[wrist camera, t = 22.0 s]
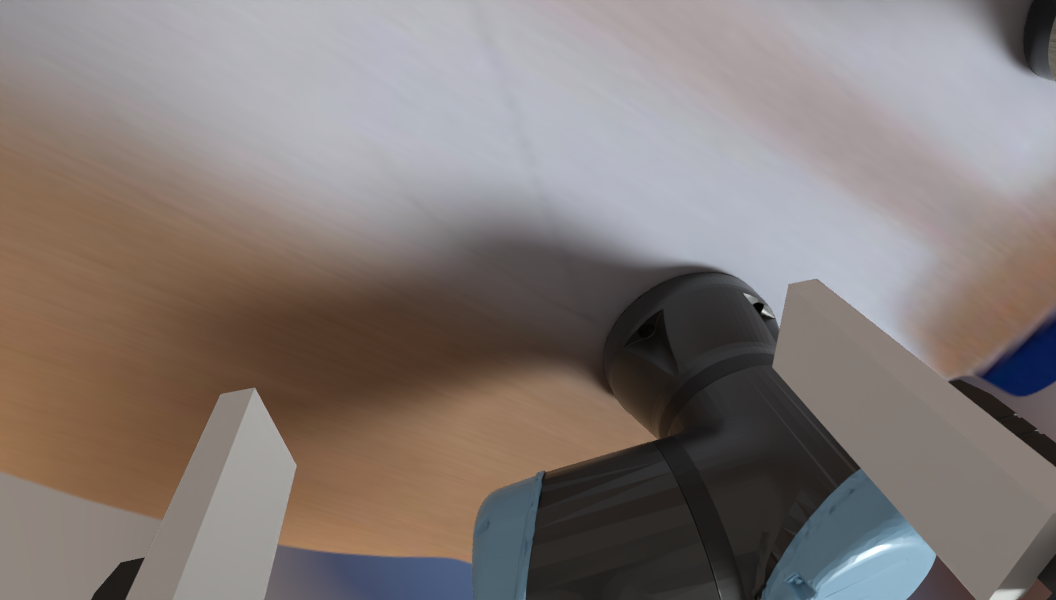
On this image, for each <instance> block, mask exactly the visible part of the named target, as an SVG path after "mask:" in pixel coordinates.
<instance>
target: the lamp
mask: <svg viewBox="0 0 1056 600" xmlns="http://www.w3.org/2000/svg"><path fill="white" fill-rule="evenodd" d="M1024 50H1025V55H1026V59H1027V62H1028V64H1029V66H1030V67H1031V69H1032V70H1033V71H1034V72H1035V73H1036V74H1037V75H1039V76H1040V77H1042V78H1044V79H1047V80H1051V81H1055V82H1056V0H1034V1H1033V3H1032V6H1031V9H1030V12H1029V15H1028V18H1027V23H1026V27H1025V35H1024Z"/></svg>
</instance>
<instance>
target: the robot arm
mask: <svg viewBox="0 0 1056 600" xmlns="http://www.w3.org/2000/svg"><path fill="white" fill-rule="evenodd" d="M603 364H604V371H605V375H606V378H607V380H608V382H609V385H610V387H611V389H612V391H613V393H614V395H615V397H616V399H617V400H618V402H619V403H620V404H621V406H622V407H623V408H624V409H625V410H626V411H627V412H628V413H630V414H631V415H632V416H633V417H634V418H635V419H636V420H637V421H638V422H639V423H640V424H642V425H643V426H644V427H645V428H646V429H647V430H648V431H649V432H650V433H652V434H653V435H654V436H655V437H656V438H657V439H658V440H655V441H652V442H647V443H644V444H640V445H637V446H634V447H630V448H627V449H623V450H620V451H617V452H613V453H610V454H606V455H603V456H600V457H596V458H593V459H589V460H586V461H583V462H579V463H576V464H572V465H569V466H566V467H562V468H559V469H555V470H552V471H549V472H545V471H541V472H538V473H537V474H536V476H534V477H531V478H528V479H525V480H522V481H520V482H517V483H514V484H511V485H508V486H505V487H503V488H500V489H497V490H495V491H494V492H492V493H491V494H490V495H488V497H487V498H486V499H485V500H484V501H483V503H482V505H481V506H480V509H479V511H478V514H477V517H476V521H475V527H474V534H473V549H472V584H473V600H906V599H907V598H908V597H909V596H910V595H911V594H912V593H913V592H914V591H915V589H916V588H917V587H918V586H919V585H920V583H921V582H922V580H923V579H924V578H925V577H926V575H927V574H928V572H929V570H930V569H931V567H932V565H933V562H934V560H935V557H936V554H937V555H938V557H939V558H940V559H941V560H942V561H943V562H944V563H945V564H946V566H947V567H948V568H949V569H950V570H951V571H952V573H953V574H954V575H955V576H956V577H957V578H958V579H959V581H961V583H962V584H963V585H964V586H965V587H966V588H967V590H968V591H969V592H970V593H971V594H972V595H973V596H974V598H975V599H976V600H1015V599H1018V598H1022V597H1023V596H1024V595H1025V594H1026V593H1027V591H1028V590H1029V589H1030V587H1031V586H1032V585H1033V584H1034V583H1035V581H1036V580H1037V579H1039V580H1040V581H1041V582H1042V583H1043V584H1044V585H1045V586H1046V587H1047V588H1048V589H1049V590H1050V591H1051V592H1052V595H1051V596H1050V597H1049V598H1048V599H1047V600H1056V443H1055V442H1054V441H1053V440H1051V439H1050V438H1049V437H1047V436H1046V435H1045V434H1040V433H1039V432H1038V429H1037V428H1035V427H1034V426H1033V425H1031V424H1030V423H1028V422H1027V421H1026V420H1024V419H1023V418H1018V417H1017V414H1016V413H1015V412H1014V411H1013V410H1011V409H1010V408H1009V407H1007V406H1006V405H1005V404H1003V403H1002V402H1001V401H999V400H998V399H997V398H995V397H994V396H993V395H991V394H989V393H987V392H985V391H983V390H981V389H979V388H977V387H975V386H973V385H970V384H968V383H966V382H964V381H962V380H955V381H951V382H947V381H946V380H945V379H943V378H942V377H941V376H940V375H938V374H937V373H936V372H934V371H933V370H932V369H931V368H929V367H928V366H927V365H926V364H924V363H923V362H922V361H921V360H919V359H918V358H917V357H915V356H914V355H913V354H912V353H910V352H909V351H908V350H907V349H905V348H904V347H903V346H902V345H900V344H899V343H898V342H896V341H895V340H894V339H893V338H891V337H890V336H889V335H888V334H886V333H885V332H884V331H883V330H881V329H880V328H879V327H877V326H876V325H875V324H874V323H872V322H871V321H870V320H869V319H867V318H866V317H865V316H864V315H862V314H861V313H860V312H858V311H857V310H856V309H855V308H853V307H852V306H851V305H850V304H848V303H847V302H846V301H845V300H843V299H842V298H841V297H839V296H838V295H837V294H836V293H834V292H833V291H832V290H831V289H829V288H828V287H827V286H825V285H824V284H823V283H822V282H820V281H819V280H818V279H813V280H808V281H803V282H798V283H793V284H789V285H788V290H787V295H786V300H785V305H784V310H783V315H782V320H781V325H780V329H779V326H778V324H777V321H776V318H775V316H774V314H773V312H772V310H771V309H770V307H769V306H768V304H767V303H766V302H765V301H764V300H763V299H762V298H761V297H760V296H759V295H758V294H757V293H756V292H755V291H754V290H753V289H752V288H751V287H750V286H749V285H747V284H746V283H745V282H743V281H741V280H739V279H737V278H735V277H732V276H729V275H725V274H720V273H695V274H689V275H685V276H681V277H678V278H675V279H672V280H669V281H667V282H665V283H662V284H660V285H658V286H656V287H655V288H653V289H651V290H650V291H648V292H647V293H645V294H644V295H642V296H641V297H640V298H638V299H637V300H636V301H635V302H634V303H633V304H632V305H630V306H629V307H628V308H627V310H626V311H625V312H624V313H623V314H622V315H621V317H620V318H619V319H618V321H617V322H616V324H615V325H614V327H613V329H612V330H611V332H610V335H609V337H608V339H607V342H606V346H605V350H604V357H603ZM296 467H297V465H296V463H295V462H294V460H293V458H292V456H291V454H290V452H289V450H288V448H287V447H286V445H285V443H284V441H283V439H282V437H281V435H280V434H279V432H278V430H277V428H276V426H275V424H274V422H273V420H272V419H271V417H270V415H269V413H268V411H267V409H266V407H265V406H264V404H263V402H262V400H261V398H260V396H259V394H258V392H257V391H256V389H255V388H249V389H244V390H239V391H234V392H229V393H224V394H220V396H219V399H218V401H217V403H216V405H215V407H214V409H213V412H212V414H211V416H210V418H209V420H208V422H207V425H206V427H205V429H204V431H203V433H202V435H201V437H200V440H199V442H198V444H197V446H196V448H195V450H194V453H193V455H192V457H191V459H190V461H189V463H188V466H187V468H186V470H185V472H184V474H183V476H182V479H181V481H180V483H179V485H178V487H177V489H176V492H175V494H174V496H173V498H172V500H171V502H170V505H169V507H168V509H167V511H166V513H165V515H164V517H163V520H162V522H161V524H160V526H159V528H158V530H157V533H156V535H155V537H154V539H153V541H152V543H151V546H150V548H149V550H148V552H147V554H146V557H145V558H140V559H135V560H131V561H126V562H121V563H120V564H119V565H118V567H117V568H116V569H115V570H114V571H113V572H112V574H111V575H110V576H109V577H108V578H107V579H106V581H105V582H104V583H103V584H102V585H101V586H100V588H99V589H98V590H97V591H96V592H95V593H94V595H93V597H92V599H91V600H264V598H265V593H266V589H267V585H268V581H269V577H270V572H271V569H272V565H273V560H274V556H275V553H276V548H277V544H278V540H279V536H280V532H281V528H282V524H283V520H284V516H285V512H286V508H287V503H288V499H289V495H290V491H291V487H292V483H293V479H294V475H295V471H296Z"/></svg>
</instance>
